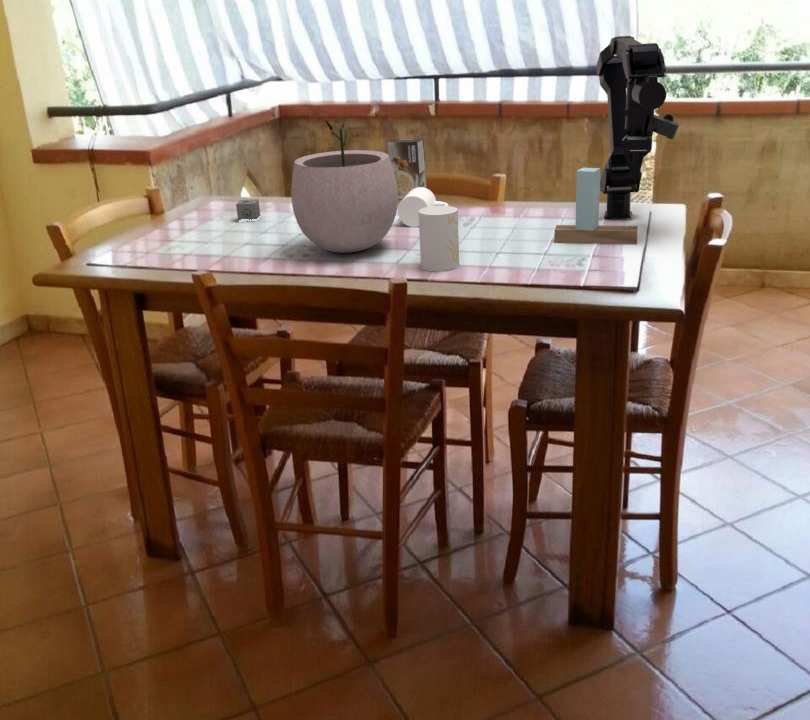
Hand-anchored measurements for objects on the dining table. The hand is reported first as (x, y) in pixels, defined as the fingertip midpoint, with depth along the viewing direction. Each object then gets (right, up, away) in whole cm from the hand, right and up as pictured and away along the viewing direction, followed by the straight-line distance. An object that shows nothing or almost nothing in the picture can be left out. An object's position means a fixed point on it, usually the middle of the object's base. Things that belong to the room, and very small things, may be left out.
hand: (635, 175), depth 198 cm
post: (-11, -12, -1) cm, 16 cm away
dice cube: (-94, -4, +37) cm, 101 cm away
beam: (-9, -15, 0) cm, 17 cm away
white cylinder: (-45, -22, -11) cm, 51 cm away
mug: (-47, -7, +24) cm, 53 cm away
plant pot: (-65, -16, +4) cm, 67 cm away
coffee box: (-51, +5, +52) cm, 73 cm away
